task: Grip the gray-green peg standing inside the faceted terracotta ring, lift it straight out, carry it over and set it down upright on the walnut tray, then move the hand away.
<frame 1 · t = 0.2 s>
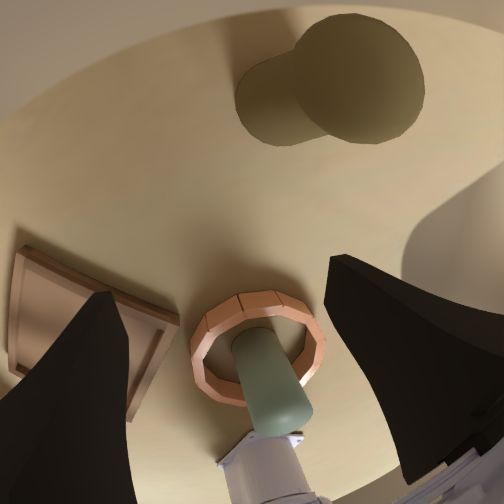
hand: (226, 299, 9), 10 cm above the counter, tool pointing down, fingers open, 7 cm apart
gray-green peg: (267, 379, 20), in the faceted terracotta ring
faceted terracotta ring: (255, 346, 24), on the counter
olive pepper mill: (280, 102, 17), on the counter
walnut tray: (80, 344, 20), on the counter
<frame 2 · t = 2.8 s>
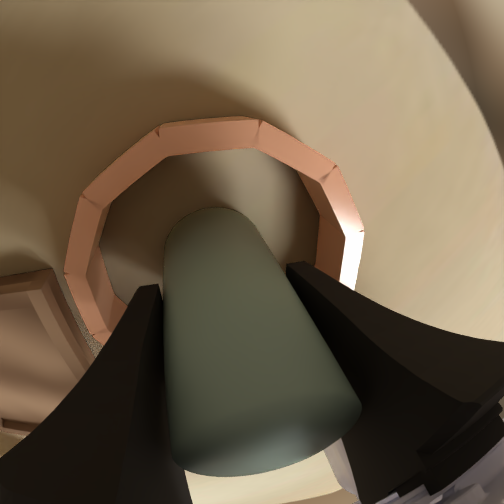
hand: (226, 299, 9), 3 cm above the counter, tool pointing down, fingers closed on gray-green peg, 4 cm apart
gray-green peg: (232, 322, 8), in the faceted terracotta ring, touching gripper
faceted terracotta ring: (213, 254, 12), on the counter
walnut tray: (15, 370, 12), on the counter
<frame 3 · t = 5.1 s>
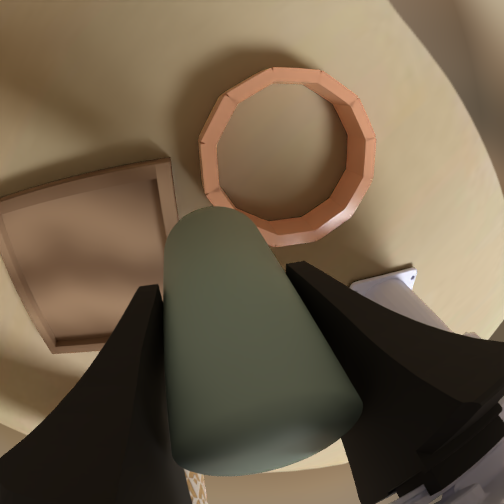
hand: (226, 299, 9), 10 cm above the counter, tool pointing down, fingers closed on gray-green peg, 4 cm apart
gray-green peg: (232, 320, 8), point 11 cm above the counter, touching gripper
faceted terracotta ring: (285, 153, 17), on the counter
vase: (137, 420, 28), on the counter
walnut tray: (94, 268, 18), on the counter
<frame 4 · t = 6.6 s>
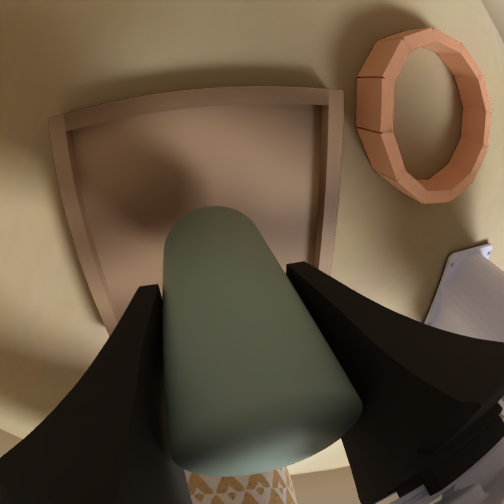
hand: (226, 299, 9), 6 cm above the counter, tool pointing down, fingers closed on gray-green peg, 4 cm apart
gray-green peg: (232, 320, 8), point 7 cm above the counter, touching gripper
faceted terracotta ring: (423, 112, 14), on the counter
vase: (199, 426, 25), on the counter
walnut tray: (205, 221, 15), on the counter
when the fingers open (5 cm above the counter, at t = 7.7 s): gray-green peg drops 1 cm, resting on walnut tray.
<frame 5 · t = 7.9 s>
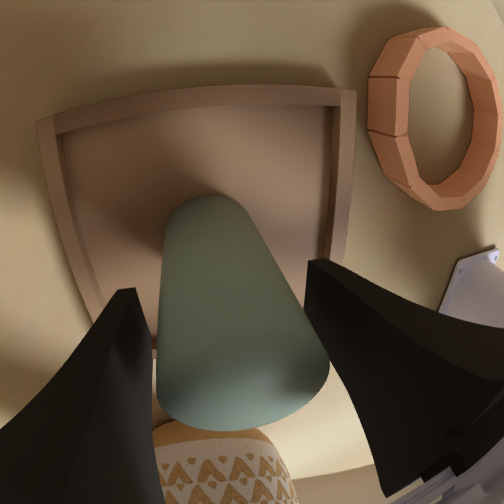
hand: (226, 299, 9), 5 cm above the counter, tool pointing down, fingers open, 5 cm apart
gray-green peg: (221, 290, 9), point 5 cm above the counter, touching walnut tray
faceted terracotta ring: (435, 115, 13), on the counter
vase: (200, 435, 24), on the counter
walnut tray: (207, 230, 14), on the counter
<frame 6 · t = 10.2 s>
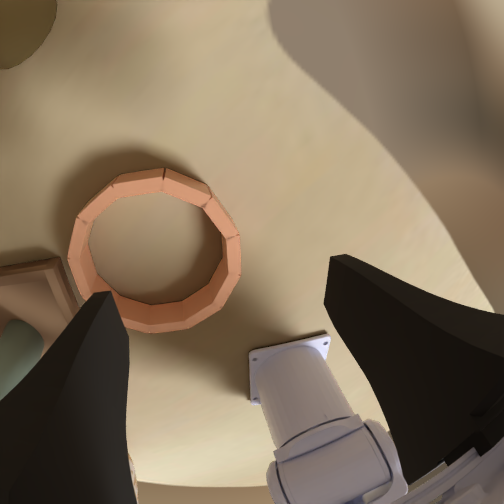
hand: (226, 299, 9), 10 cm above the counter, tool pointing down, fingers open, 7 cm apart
gray-green peg: (11, 372, 15), point 5 cm above the counter, touching walnut tray
faceted terracotta ring: (154, 249, 18), on the counter
olive pepper mill: (18, 26, 9), on the counter
walnut tray: (27, 331, 19), on the counter
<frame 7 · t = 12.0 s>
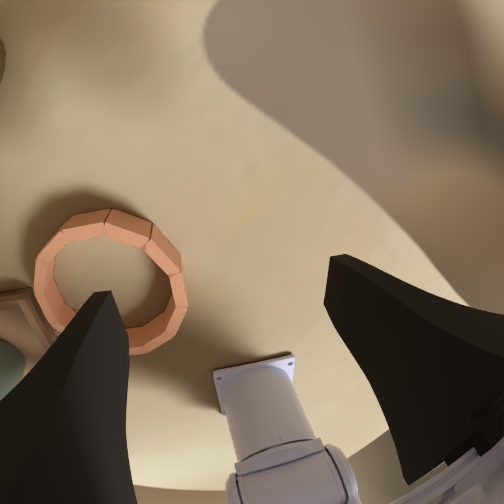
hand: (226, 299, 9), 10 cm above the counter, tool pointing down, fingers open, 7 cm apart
faceted terracotta ring: (111, 281, 19), on the counter
walnut tray: (11, 349, 19), on the counter
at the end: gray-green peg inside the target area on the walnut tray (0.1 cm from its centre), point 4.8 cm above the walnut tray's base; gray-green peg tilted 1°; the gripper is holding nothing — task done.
